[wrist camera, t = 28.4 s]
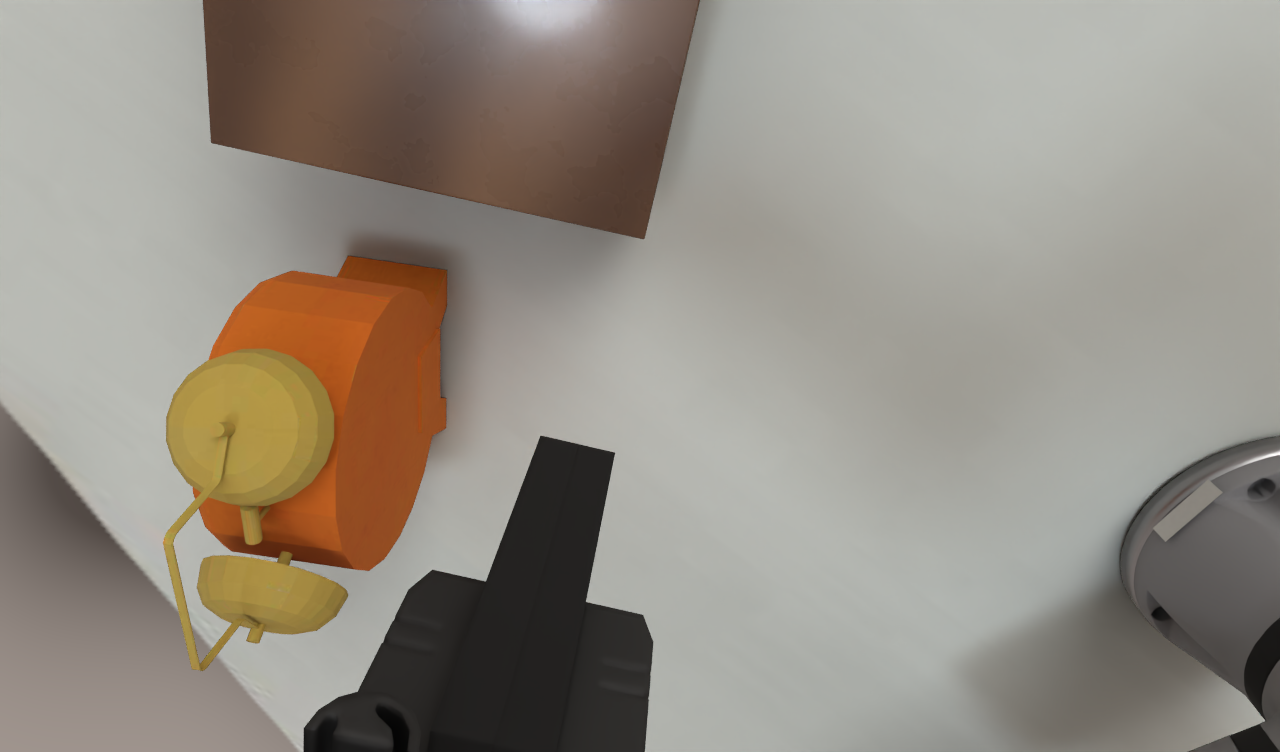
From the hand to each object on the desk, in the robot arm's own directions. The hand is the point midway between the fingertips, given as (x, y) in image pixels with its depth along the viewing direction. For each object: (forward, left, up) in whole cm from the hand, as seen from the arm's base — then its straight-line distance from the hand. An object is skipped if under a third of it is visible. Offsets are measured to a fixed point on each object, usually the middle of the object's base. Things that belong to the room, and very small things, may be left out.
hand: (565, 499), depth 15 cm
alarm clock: (+12, +12, -25) cm, 30 cm away
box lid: (+8, -7, -18) cm, 21 cm away
